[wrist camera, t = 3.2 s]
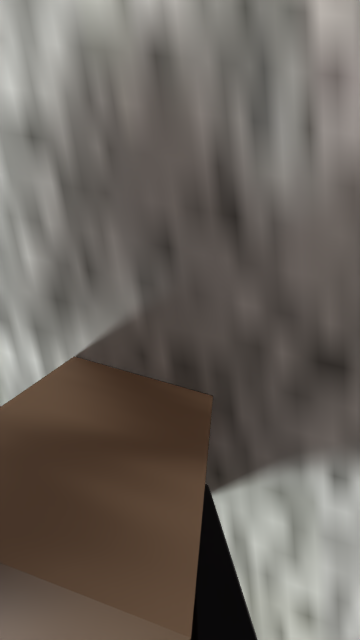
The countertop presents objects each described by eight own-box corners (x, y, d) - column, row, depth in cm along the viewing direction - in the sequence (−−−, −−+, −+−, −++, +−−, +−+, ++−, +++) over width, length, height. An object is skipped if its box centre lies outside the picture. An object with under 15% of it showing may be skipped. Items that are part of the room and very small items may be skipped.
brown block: (212, 395, 8) (190, 638, 3) (181, 505, 9) (129, 799, 4) (74, 356, 8) (-144, 505, 3) (63, 465, 9) (-105, 687, 5)
